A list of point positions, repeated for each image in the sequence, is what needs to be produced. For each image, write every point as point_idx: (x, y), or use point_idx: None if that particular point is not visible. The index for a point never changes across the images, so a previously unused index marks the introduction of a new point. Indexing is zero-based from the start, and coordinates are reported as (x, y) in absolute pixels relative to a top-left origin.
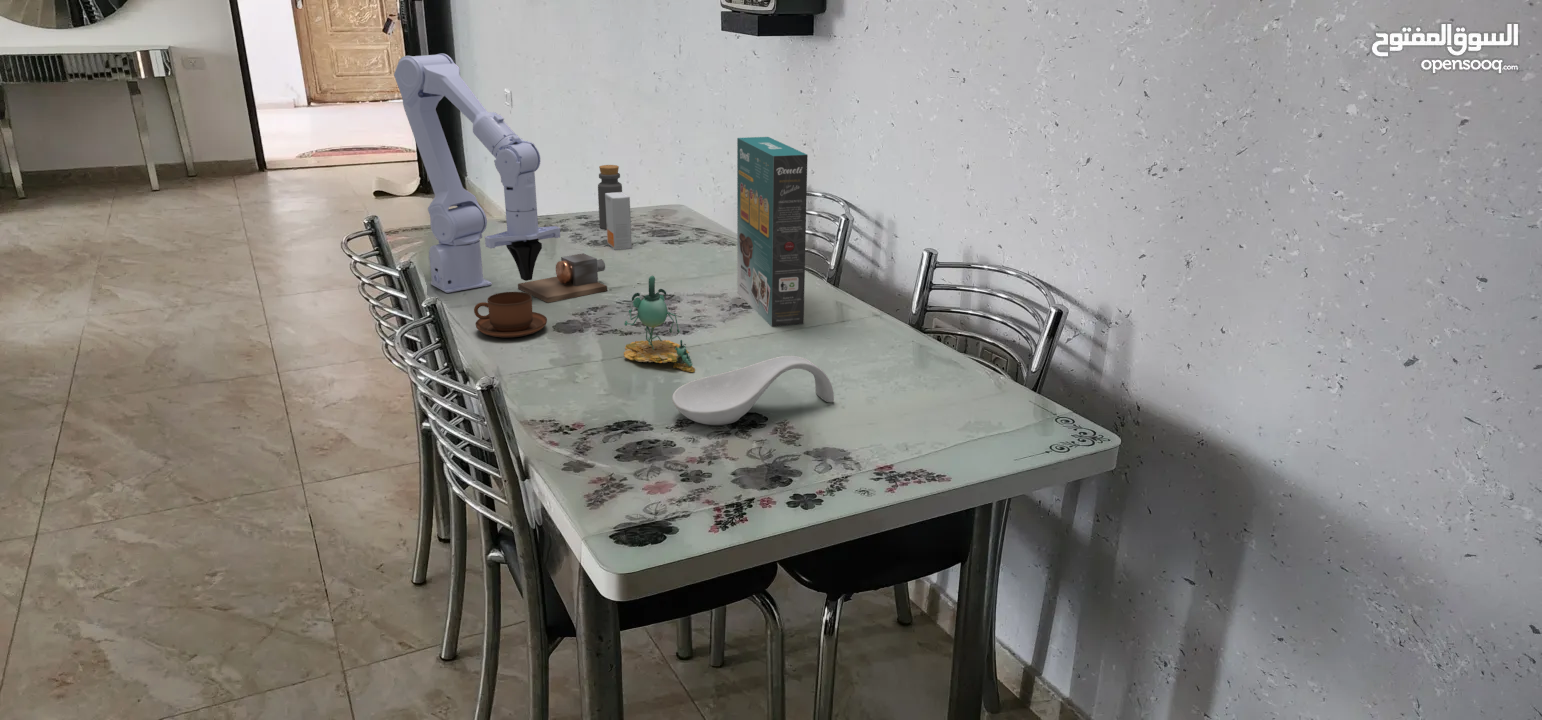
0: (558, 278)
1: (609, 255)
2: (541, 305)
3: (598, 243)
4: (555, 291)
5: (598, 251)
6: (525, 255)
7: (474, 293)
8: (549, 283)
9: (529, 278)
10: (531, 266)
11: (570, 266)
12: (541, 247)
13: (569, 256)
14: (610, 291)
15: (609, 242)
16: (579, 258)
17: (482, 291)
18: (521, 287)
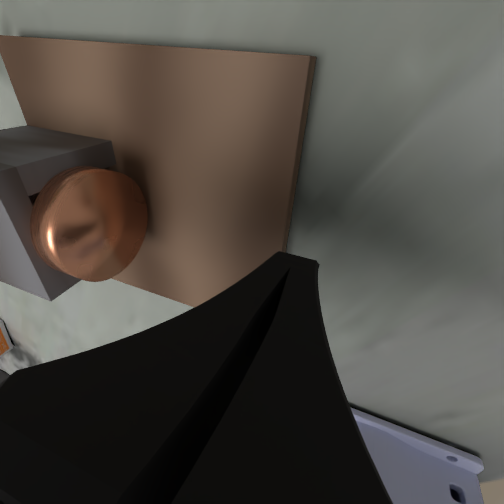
0: (141, 238)
1: (12, 309)
2: (380, 31)
3: (28, 359)
4: (211, 140)
5: (30, 337)
6: (283, 414)
7: (416, 396)
8: (182, 253)
9: (292, 258)
10: (252, 295)
11: (39, 194)
12: (5, 381)
13: (17, 280)
14: (7, 16)
15: (4, 344)
16: None
17: (378, 387)
18: None
